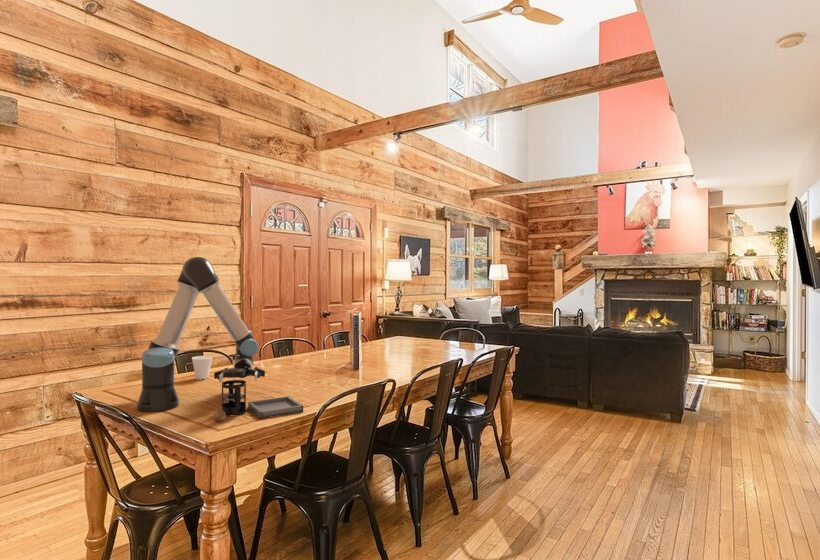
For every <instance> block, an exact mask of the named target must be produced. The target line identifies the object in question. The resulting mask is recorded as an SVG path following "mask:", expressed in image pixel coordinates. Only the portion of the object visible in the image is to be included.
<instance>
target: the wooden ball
mask: <svg viewBox="0 0 820 560" xmlns="http://www.w3.org/2000/svg"><path fill="white" fill-rule="evenodd" d="M226 417H227V416H226V413H225V412H224V411H222V409H220V410H217V411H216V412H215V413H214V419H215V421H216V422H219V421H220V422H223V421H224V420H226Z"/></svg>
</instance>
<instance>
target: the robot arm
mask: <svg viewBox="0 0 820 560" xmlns="http://www.w3.org/2000/svg"><path fill="white" fill-rule="evenodd" d="M181 268H182V269H181V271H180V274H179V276H178V278H177V281H176V282H177V284H178V285H177V286H178V288H177V290H176V293H175V295H174V297H173V300H172V302H171V305H170V307H169V310H167V311H168V312H167V313H166V316H165V319H164V321H163V323H162V326H161V328H160V330H159V332H158V335H157V337H156V338H153V339H152V340H151V342H150V343H149V346H148V349H146V350H144V351H143V353H142V355H141V392H140V395H139V398H138V399H137V402H136V403H137V404H136V409H137V410H138V411H140V412H143V413H144V412H146V413H147V412H149V413H150V412H151V413H152V412H163V411H167V410H171V409H174V408H176V407H178V406H179V403H180V401H179V400H180V399H179V397H178V394H177V390H176V388H175V361H176V358H177V356H178V354H179V352H180V346H179V345H178V343H179V341H180V338H181V337H182V334H183V332H184V329H185V327H186V324H187V322H188V320H189V317H190V315H191V313H192V311H193V307H194V306H195V303H196V301H197V299H198V296H199V294H200V293H201V294H203V296H204V297H205V300H207V302H208V304H209V305H210V306H211V308H212V310H213V311H214V313H215V314H216V316H217V317H218V319H219V320H220V322H221V324H222V325H223V326H224V328H225V330H226V331H227V333H228V334H229V335H230V337H231V338H232V341H233V342H234V343H235V354H237V355H240V356H237V357H235V362H234V364H233V367H232V368H244V369H246V371H245V375H244V376H242V377H237V378H239V379H244V378H247V377H251V376H252V377H254V382H257V381H258V378H261V377H263V378H264V377H266V370H264V369H262V368H259V367H258V366H255V367H253V366H254V356H255V355H256V354H257V353H258V351H259V343H258V342H257V340H256V339H254V335H253V331H252V330H249V329H248V327H247V325H246V324H245V322H244V321H243V320H242V317H241V316H240V314H238V312H237V310H236V308H235V307H234V305H233V304H232V302H231V301H230V298H229V297H228V296H227V294H226V292H225V291H224V289H223V288H222V287H221V285H220V282H221V281H220V278H219V277H218V275H217V273H216V271H215V269H214V266H213V264H212V263H211V261H209V260H208V259H207V258H205V257H202V256H193V257H190V258H188V259H187V260H186V261H185V262H184V264H183V265H182V267H181ZM225 369H229V368H228V367H225V368H224V369H221V370H217V371H215V372H213V379H215V380H218V382H219V383H220V384H222V383H223V380H224V379H225V378H226V377H223V372H222V370H225ZM226 379H227V378H226Z"/></svg>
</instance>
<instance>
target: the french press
mask: <svg viewBox="0 0 820 560" xmlns="http://www.w3.org/2000/svg"><path fill="white" fill-rule="evenodd" d="M237 356H240V355H237V354H236V353H235V354H229V355H228V357H229V358H232V361H236V357H237ZM224 369H225V368H224ZM221 370H222V372H223V377H226V379H231V380H226V381H222V382H221V410H222V411H224V412H225V413H226V415H229V416H228V417H231V416H230V415H237V416H241V415H240V414H242V415H244V414H246V413H247V409H246V408H247V405H246V403H247V397H246V396H247V382H246V380H242V379H236V378H238V377H242V376H244V375H245V371H246V369H244V368H233V367H231V368H228V369H225V370H223V369H221ZM241 388H243V392H244V393H241V391H242V389H241ZM224 389H227V390H228V394H226V395H224ZM241 400H243V401H241ZM224 401H227V402H224ZM245 412H246V413H245ZM243 413H244V414H243Z"/></svg>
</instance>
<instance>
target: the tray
mask: <svg viewBox="0 0 820 560" xmlns="http://www.w3.org/2000/svg"><path fill="white" fill-rule="evenodd" d="M247 407H248V409H249V410H250V411H251V410H252V411H253V412H254V413H255V416H257V417H258V416H259V417H260V418H263V419H265V418H264V417H269V418H271V417H270V416H275V417H278V416H277V415H281V416H285V415H284V414H287V415H292V414H299V412H300V413H304V405H303V404H301V403H300V402H298V401H297V400H295V399H294V398H293V397H291V396H289V395H288V396H281V397H280V396H279V397H274V398H266V399H259V400H252V401H251V400H250V401H248V402H247ZM252 411H251V412H252ZM253 412H252V413H253ZM254 413H253V414H254ZM259 417H258V418H259ZM260 418H259V419H260Z"/></svg>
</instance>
